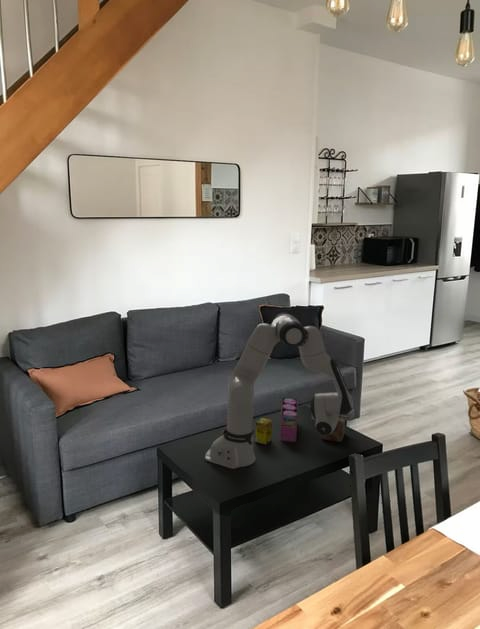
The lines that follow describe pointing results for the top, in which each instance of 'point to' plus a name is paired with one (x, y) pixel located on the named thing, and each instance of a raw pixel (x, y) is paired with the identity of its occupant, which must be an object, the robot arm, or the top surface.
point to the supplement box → (263, 431)
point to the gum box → (289, 420)
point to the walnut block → (336, 432)
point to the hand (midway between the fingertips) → (334, 405)
